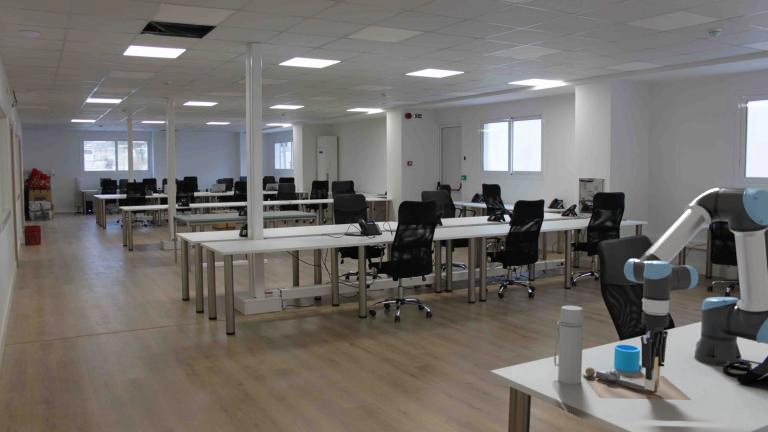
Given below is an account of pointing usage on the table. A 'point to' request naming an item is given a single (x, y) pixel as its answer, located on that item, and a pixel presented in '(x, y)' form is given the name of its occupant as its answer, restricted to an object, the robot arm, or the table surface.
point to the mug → (626, 358)
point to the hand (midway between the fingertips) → (652, 388)
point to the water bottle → (570, 344)
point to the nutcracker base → (621, 391)
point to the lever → (615, 378)
